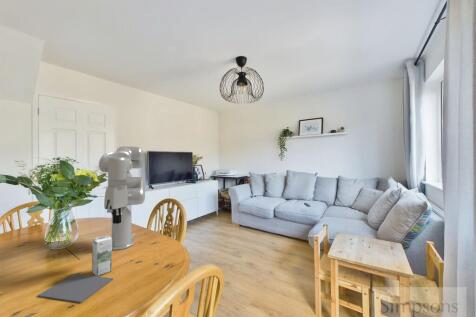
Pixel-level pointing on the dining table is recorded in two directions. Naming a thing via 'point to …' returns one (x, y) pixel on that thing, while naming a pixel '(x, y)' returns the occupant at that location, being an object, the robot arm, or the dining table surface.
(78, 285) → the mat
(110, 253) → the syrup box
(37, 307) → the dining table surface
